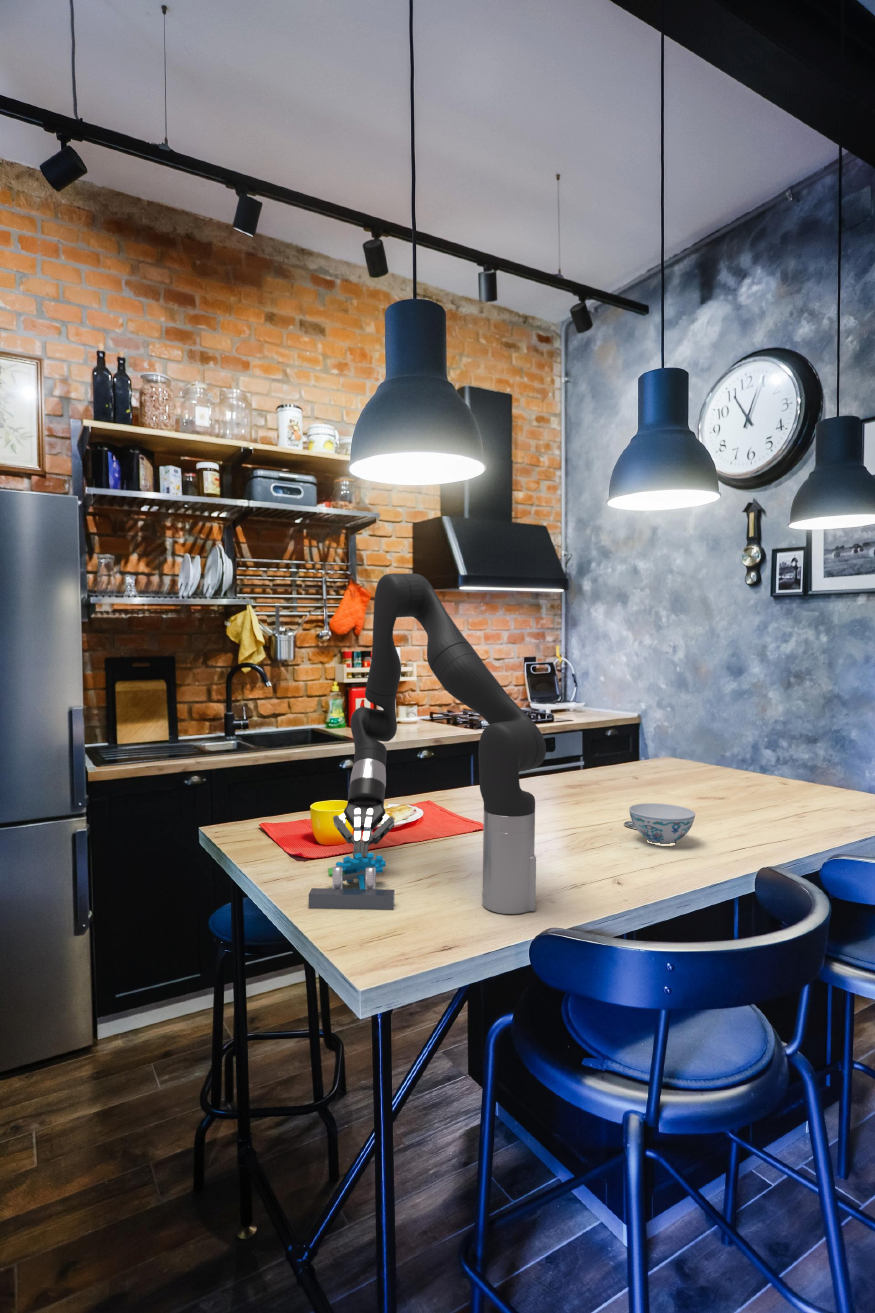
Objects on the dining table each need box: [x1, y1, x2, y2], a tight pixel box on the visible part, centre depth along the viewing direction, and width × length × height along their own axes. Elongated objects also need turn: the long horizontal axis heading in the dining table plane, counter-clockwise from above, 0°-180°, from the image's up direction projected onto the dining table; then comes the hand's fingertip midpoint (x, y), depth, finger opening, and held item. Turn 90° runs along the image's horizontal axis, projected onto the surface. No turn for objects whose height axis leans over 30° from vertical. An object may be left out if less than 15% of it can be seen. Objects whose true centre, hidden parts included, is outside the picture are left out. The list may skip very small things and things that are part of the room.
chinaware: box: [628, 802, 696, 844], centre depth 171 cm, size 15×15×8 cm
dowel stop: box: [308, 865, 396, 911], centre depth 129 cm, size 15×5×6 cm, turn 89°
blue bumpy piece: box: [327, 852, 387, 889], centre depth 137 cm, size 11×6×10 cm
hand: (359, 861), depth 140 cm, fingers closed
